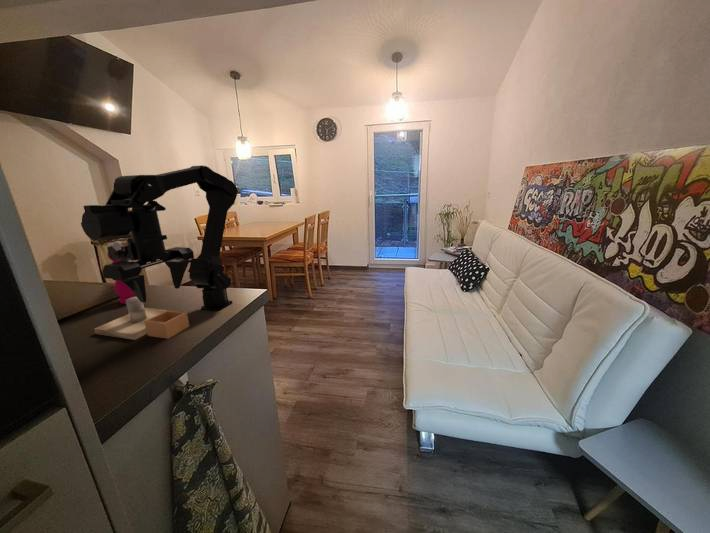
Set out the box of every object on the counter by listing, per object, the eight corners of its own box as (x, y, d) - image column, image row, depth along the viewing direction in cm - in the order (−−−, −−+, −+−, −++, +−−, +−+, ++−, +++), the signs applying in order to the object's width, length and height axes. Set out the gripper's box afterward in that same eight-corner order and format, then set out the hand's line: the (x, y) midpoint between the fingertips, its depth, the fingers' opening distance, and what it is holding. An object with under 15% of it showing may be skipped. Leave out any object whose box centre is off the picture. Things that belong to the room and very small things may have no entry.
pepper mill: (117, 306, 87) (99, 244, 82) (119, 299, 93) (102, 240, 87) (145, 300, 91) (130, 241, 86) (145, 294, 97) (131, 238, 91)
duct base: (144, 312, 82) (138, 288, 80) (179, 316, 79) (174, 291, 77) (95, 333, 70) (87, 306, 68) (134, 339, 67) (126, 311, 65)
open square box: (170, 323, 75) (167, 310, 74) (189, 326, 73) (186, 312, 72) (147, 335, 69) (144, 321, 68) (168, 338, 67) (164, 323, 66)
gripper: (156, 226, 75) (168, 280, 79) (73, 239, 57) (95, 307, 62) (189, 226, 72) (200, 283, 76) (113, 240, 55) (133, 312, 59)
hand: (161, 294), depth 68 cm, fingers open, 9 cm apart
